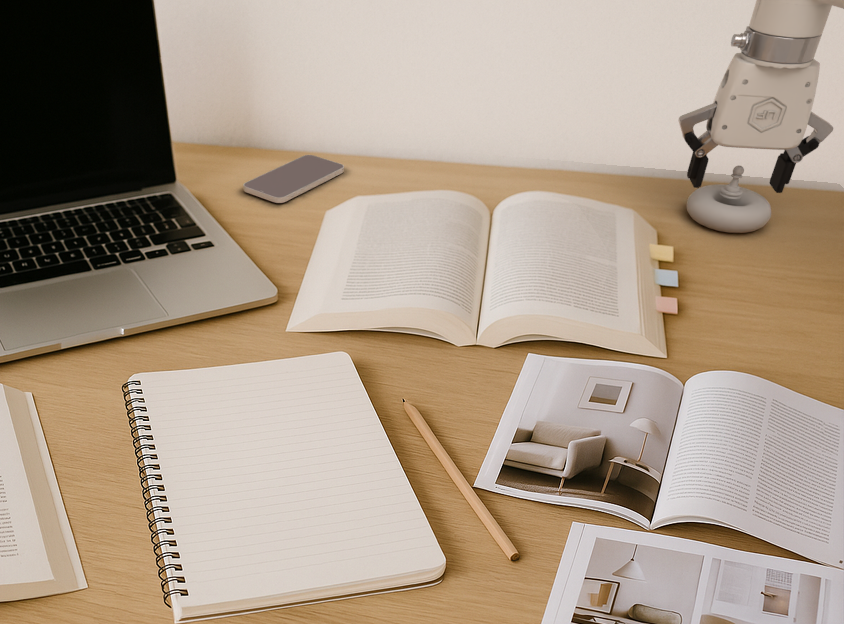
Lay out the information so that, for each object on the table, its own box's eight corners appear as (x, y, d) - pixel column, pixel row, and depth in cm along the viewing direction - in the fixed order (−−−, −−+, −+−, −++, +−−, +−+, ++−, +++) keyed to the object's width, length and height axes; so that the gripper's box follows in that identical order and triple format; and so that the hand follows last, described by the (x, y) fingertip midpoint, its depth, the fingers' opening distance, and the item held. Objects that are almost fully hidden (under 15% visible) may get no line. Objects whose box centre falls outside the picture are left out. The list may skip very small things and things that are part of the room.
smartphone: (347, 165, 122) (280, 199, 112) (347, 171, 122) (280, 205, 113) (307, 153, 125) (239, 184, 116) (307, 159, 126) (239, 191, 116)
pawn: (719, 197, 106) (728, 168, 104) (719, 189, 108) (728, 160, 106) (741, 201, 106) (751, 171, 103) (741, 193, 107) (751, 163, 105)
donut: (678, 201, 114) (688, 233, 106) (685, 177, 112) (696, 207, 104) (758, 208, 112) (774, 241, 104) (766, 184, 110) (783, 215, 102)
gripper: (707, 52, 94) (668, 194, 104) (873, 59, 92) (817, 203, 102) (693, 35, 100) (657, 170, 110) (849, 40, 98) (798, 178, 108)
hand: (734, 186), depth 106 cm, fingers open, 9 cm apart
